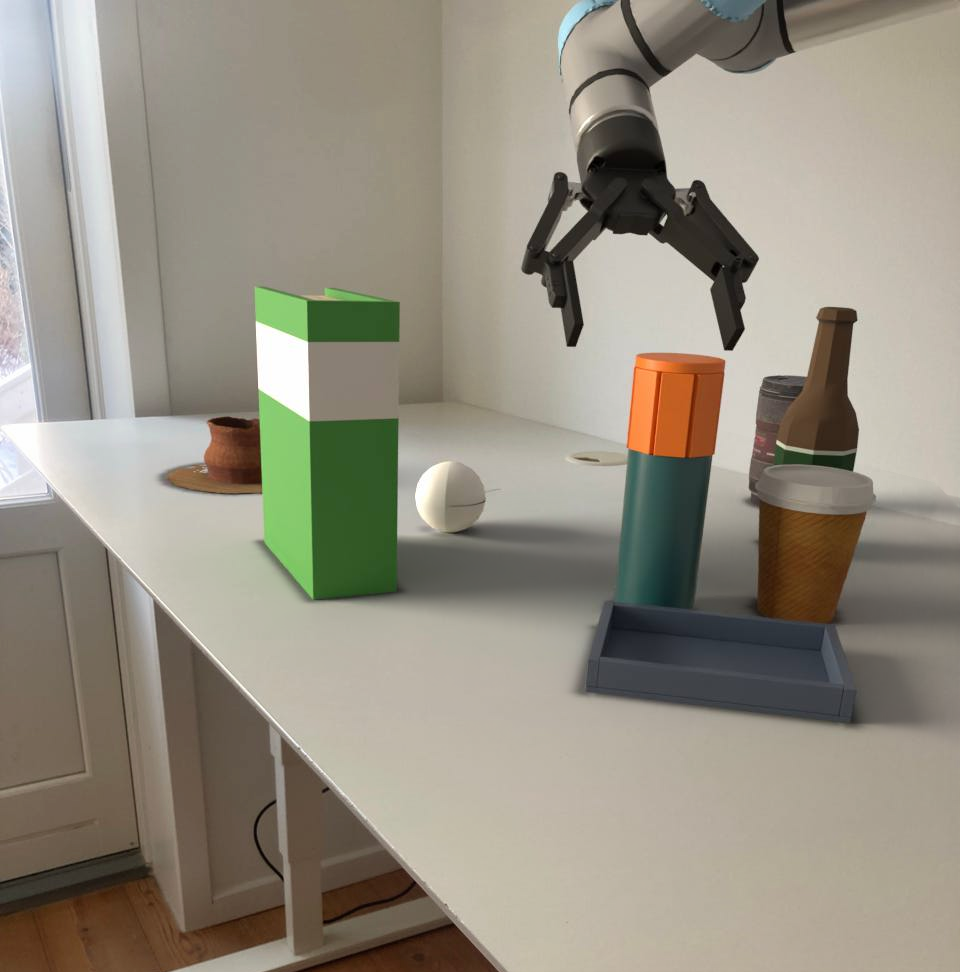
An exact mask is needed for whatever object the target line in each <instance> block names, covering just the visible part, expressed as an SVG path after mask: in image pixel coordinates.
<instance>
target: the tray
mask: <svg viewBox="0 0 960 972" xmlns="http://www.w3.org/2000/svg"><path fill="white" fill-rule="evenodd" d="M586 664H587V665H586V672H585V673H586V674H585V686H584V687H585V688H584V692H585V693H594V694H601V695H609V696H616V697H617V696H618V697H625V698H635V699H642V700H652V701H657V702H658V701H660V702H668V703H675V704H683V705H684V704H685V705H692V706H701V707H707V708H708V707H709V708H718V709H726V710H733V711H742V712H752V713H759V714H768V715H775V716H784V717H791V718H801V719H809V720H816V721H826V722H833V723H842V724H851V722H852V716H853V712H854V706H855V701H856V698H857V697H856V696H857V692H858V691H857V687H856V685H855V681H854V679H853V675H852V672H851V669H850V666H849V663H848V661H847V657H846V655H845V651H844V649H843V644H842V642H841V640H840V637H839V634H838V631H837V628H836V625H835V624H832V623H825V624H823V623H815V622H805V621H796V620H786V619H777V618H769V617H767V616H756V615H747V614H739V613H738V614H737V613H729V612H718V611H708V610H698V609H693V610H690V609H681V608H671V607H662V606H652V605H642V604H633V603H623V602H614V600H613V601H612V600H604V601H603V605H602V608H601V611H600V615H599V618H598V622H597V625H596V628H595V633H594V636H593V638H592V643H591V646H590V650H589V653H588V657H587V663H586Z"/></svg>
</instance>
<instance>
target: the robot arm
mask: <svg viewBox="0 0 960 972" xmlns="http://www.w3.org/2000/svg"><path fill="white" fill-rule="evenodd" d="M957 9H960V0H580V1H579V2H578V3H576V4H575V5H574V6H573V7H572V8H571V9H570V10H569V11H568V12H567V14H565V16H564V18H563V20H562V22H561V24H560V26H559V30H558V35H557V48H558V69H559V70H558V71H559V72H558V73H559V75H560V77H561V82H562V84H563V90H564V94H565V98H566V103H567V108H568V114H569V121H570V130H571V134H572V141H573V147H574V151H575V155H576V163H577V169H578V175H579V180H580V182H575V181H569V177H568V175H567V173H565V172H562V171H557V172H555V173H554V175H553V178H552V181H551V185H550V189H549V193H548V197H547V204H546V207H545V208H544V210H543V213H542V214H541V216H540V218H539V221H538V222H537V224H536V227H535V229H534V230H533V232H532V234H531V236H530V238H529V241H528V243H527V245H526V248H525V251H524V255H523V258H522V259H523V260H522V263H521V267H520V269H521V271H522V273H523V274H525V275H527V276H530V275H533V274H534V273H535V274H539V275H541V278H540V279H541V280H540V283H541V286H543V287H544V288H546V292H547V299H548V304H549V305H550V307H551V309H560V312H561V313H560V314H561V318H562V319H561V320H562V325H563V331H564V332H563V333H564V337H565V344H566V345H565V346H566V348H576V347H577V345H578V342H579V339H580V336H581V334H582V331H583V328H584V326H585V323H584V317H583V312H582V305H581V300H580V294H579V288H578V282H577V276H576V270H575V263H574V261H575V260H576V259H577V258H578V257H579V256H580V254H581V253H582V252H584V250H585V249H586V248H587V247H588V246H589V245H590V244H591V243H592V242H593V241H596V240H597V239H598V238H599V237H600V235H602V234H603V232H604V231H605V230H608V231H610V232H612V234H613V235H625V234H632V235H636V236H648V234H649V235H650V236H651V237H653V238H654V239H655V240H656V241H657V242H659V243H660V244H668V245H669V246H670V247H672V248H673V249H674V250H675V251H676V252H678V253H679V254H680V255H681V256H682V257H683V258H685V259H686V260H687V261H689V262H690V263H691V264H692V265H693V266H695V268H697V269H698V270H699V271H700V272H702V273H703V274H704V275H705V276H707V277H708V278H709V279H710V280H711V281H712V282H713V283H712V285H711V287H710V289H709V290H710V296H711V300H712V304H713V308H714V313H715V317H716V321H717V325H718V330H719V334H720V339H721V344H722V348H723V351H727V352H728V351H730V352H732V351H734V349H735V348H736V346H737V344H738V342H739V340H740V339H741V337H742V335H743V334H744V332H745V330H746V327H745V323H744V320H743V315H742V311H741V310H742V308H743V306H744V305H745V303H746V300H747V297H746V293H745V289H744V283H747V282H748V281H749V279H750V277H751V275H752V273H753V272H754V270H755V268H756V266H757V265H758V262H759V260H760V256H759V255H758V254H757V252H755V250H754V248H752V247H751V246H750V244H749V243H748V242H747V241H746V240H745V238H744V237H743V236H742V235H741V233H739V231H738V230H737V229H736V228H735V226H733V224H732V223H731V222H730V221H729V219H728V218H727V217H726V216H725V215H724V213H723V212H722V210H720V208H718V206H717V205H716V204H715V202H714V201H713V200H712V199H711V197H710V194H709V192H708V189H707V186H706V184H705V182H704V181H702V180H700V179H694V180H693V181H692V182H691V185H690V187H682V188H681V187H680V188H675V185H673V183H671V181H670V180H669V178H668V172H667V171H668V170H667V161H666V158H665V157H666V156H665V152H664V149H663V143H662V139H661V135H660V132H659V126H658V120H657V117H656V112H655V108H654V104H653V100H652V95H651V90H650V88H651V87H652V86H654V85H655V84H657V83H658V82H659V81H661V80H662V79H663V78H665V77H667V76H669V74H672V73H673V72H674V71H675V70H677V69H678V68H679V67H681V66H682V65H684V64H685V63H686V62H687V61H689V60H691V59H692V58H693V57H694V56H696V55H698V56H700V57H702V58H705V59H706V60H708V61H709V62H711V63H713V64H714V65H716V66H717V67H718V68H720V69H721V70H723V71H725V72H727V73H731V74H736V75H737V74H739V75H740V74H741V75H750V74H755V73H759V72H761V71H763V70H765V69H767V68H768V67H769V66H770V65H772V64H773V63H774V62H775V61H776V60H777V59H779V58H783V57H786V56H789V55H792V54H795V53H799V52H802V51H805V50H810V49H813V48H816V47H820V46H824V45H829V44H831V43H835V42H838V41H843V40H845V39H850V38H853V37H857V36H861V35H864V34H869V33H872V32H876V31H880V30H883V29H887V28H890V27H894V26H898V25H901V24H905V23H909V22H913V21H917V20H919V19H923V18H928V17H930V16H934V15H938V14H943V13H946V12H949V11H952V10H953V11H954V10H957ZM575 201H579V204H580V205H581V206H582V208H584V209H585V210H586V211H587V212H586V213H584V215H583V216H582V217H581V218H580V219H579V220H578V221H577V222H576V223H575V224H574V225H573V226H572V228H571V229H570V230H568V231H567V233H566V234H565V235H564V236H563V237H562V238H561V239H560V240H559V241H558V242H557V243H556V244H555V245H554V247H552V248H551V249H550V251H548V250H546V249H547V248H548V246H549V243H550V241H551V239H552V237H553V235H554V233H555V231H556V229H557V227H558V225H559V222H560V221H561V219H562V214H563V212H566V211H568V209H569V208H571V207H572V206H573V205H574V202H575ZM665 217H666V219H665V221H664V224H663V225H662V224H661V223H662V221H663V219H664V218H665Z"/></svg>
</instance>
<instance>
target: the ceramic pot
mask: <svg viewBox="0 0 960 972" xmlns="http://www.w3.org/2000/svg"><path fill="white" fill-rule="evenodd" d="M205 422H206V424H207V426H208V428H209V433H210V438H211V439H210V443H209V444H208V446H207V448H206V449H205V451H204V453H203V462H204V465H201V464H193V465H191V466H190V467H182V468H178V469H174V470H172V472H170V473H168V474H167V475H166V477H165V478H164V479H165V480H168V481H169V483H170V484H172V485H175V486H176V487H181V488H186V489H188V490H191V491H193V490H196V491H199V492H207V493H216V494H221V493H222V494H261V493H262V494H263V492H262V467H261V441H260V418H254V417H253V418H252V419H246V418H244V417H242V418H238V417H233V416H218V417H212V418H210V419H208V420H206V421H205Z"/></svg>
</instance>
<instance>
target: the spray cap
mask: <svg viewBox="0 0 960 972" xmlns="http://www.w3.org/2000/svg"><path fill="white" fill-rule="evenodd" d="M634 360H635V362H634V367H633V374H632V385H631V395H630V406H629V417H628V428H627V439H626V449H631V450H634V451H638V452H641V453H645V454H654V456H667V457H680V458H685V457H688V458H694V457H703V456H712V455H713V456H714V455H715V453H716V446H717V445H716V444H717V439H718V438H717V437H718V430H719V422H720V421H719V420H720V414H721V413H720V412H721V404H722V398H723V389H724V382H725V374H726V373H725V369H726V362H727V361H726V359H723V358H721V357H716V356H710V355H704V354H693V353H682V352H680V353H679V352H643V353H638V354H636V355H635V359H634ZM713 456H712V457H713Z"/></svg>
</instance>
